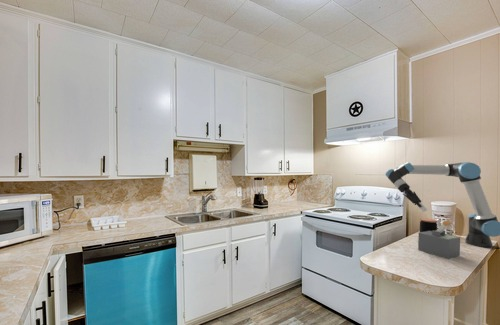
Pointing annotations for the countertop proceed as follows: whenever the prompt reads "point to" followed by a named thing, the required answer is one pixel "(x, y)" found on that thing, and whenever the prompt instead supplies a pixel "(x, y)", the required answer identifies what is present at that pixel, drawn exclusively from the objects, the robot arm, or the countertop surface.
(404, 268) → the countertop surface
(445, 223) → the lever
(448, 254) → the box
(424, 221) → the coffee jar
